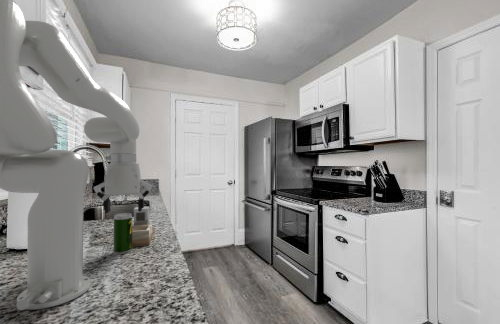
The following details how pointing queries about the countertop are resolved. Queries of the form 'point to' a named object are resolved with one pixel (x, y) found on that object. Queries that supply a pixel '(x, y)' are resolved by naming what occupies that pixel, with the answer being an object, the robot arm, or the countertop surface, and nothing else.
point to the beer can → (122, 233)
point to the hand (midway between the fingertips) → (124, 211)
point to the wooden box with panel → (142, 228)
